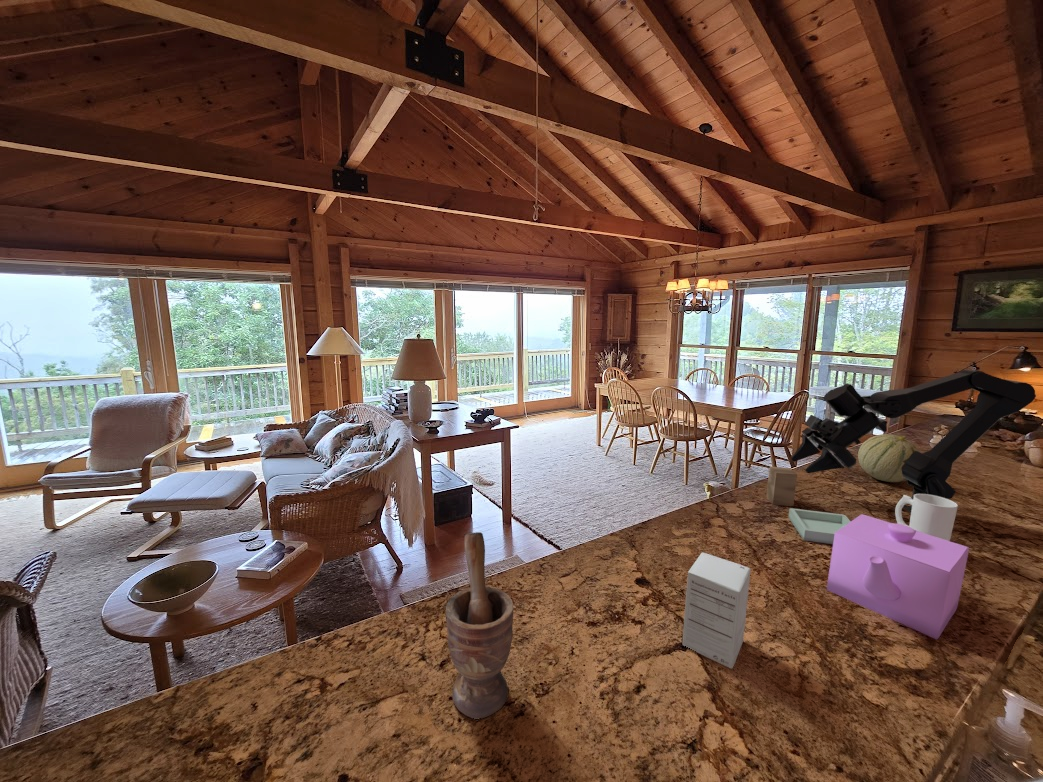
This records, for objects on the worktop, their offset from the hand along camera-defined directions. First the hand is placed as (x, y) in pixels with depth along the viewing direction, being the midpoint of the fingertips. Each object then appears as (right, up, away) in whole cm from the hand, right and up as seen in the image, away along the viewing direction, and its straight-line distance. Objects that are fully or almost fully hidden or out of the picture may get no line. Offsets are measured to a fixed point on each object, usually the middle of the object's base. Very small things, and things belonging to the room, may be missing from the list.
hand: (798, 465), depth 115 cm
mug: (+12, -15, -21) cm, 28 cm away
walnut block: (-4, -10, +3) cm, 11 cm away
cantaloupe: (+39, -8, +19) cm, 44 cm away
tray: (-3, -13, -14) cm, 19 cm away
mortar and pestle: (-81, -20, -56) cm, 101 cm away
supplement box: (-45, -19, -49) cm, 69 cm away
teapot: (-9, -18, -38) cm, 43 cm away
